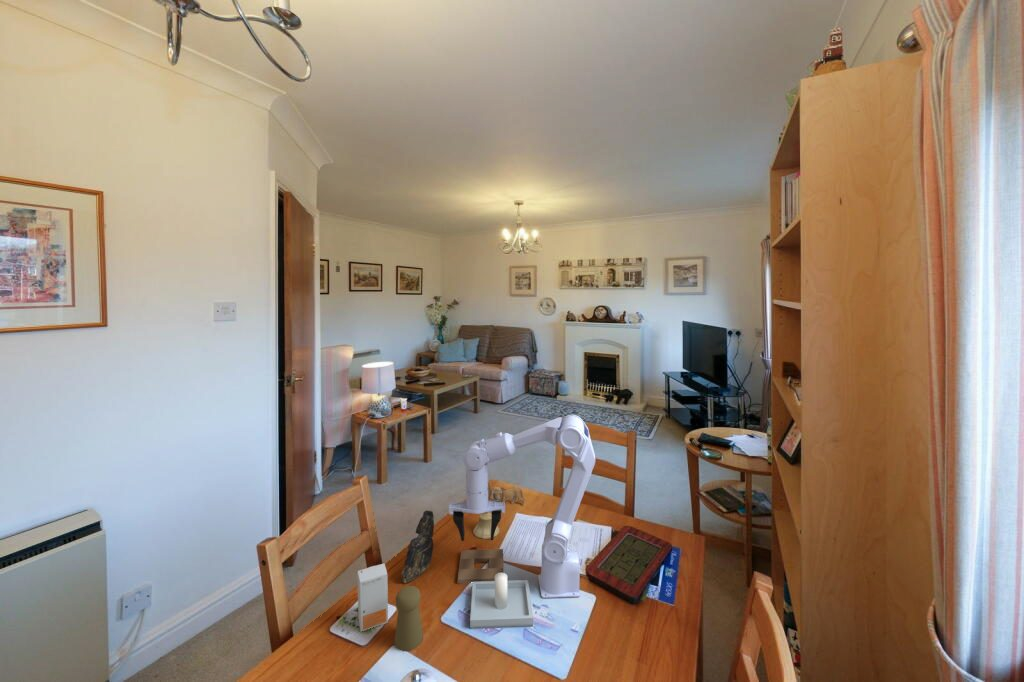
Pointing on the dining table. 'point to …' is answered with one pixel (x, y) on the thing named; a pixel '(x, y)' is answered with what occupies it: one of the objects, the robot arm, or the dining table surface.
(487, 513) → the hand bell
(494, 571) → the brown square board
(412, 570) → the statue
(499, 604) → the dowel
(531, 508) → the dining table surface
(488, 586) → the grey tray
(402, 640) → the olive game pawn
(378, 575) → the skincare box
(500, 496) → the lion figurine
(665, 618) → the dining table surface
